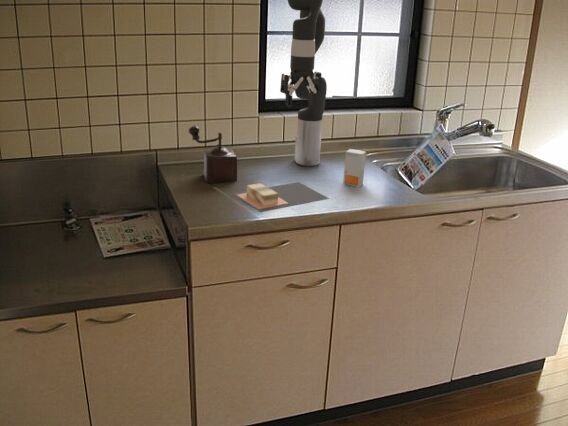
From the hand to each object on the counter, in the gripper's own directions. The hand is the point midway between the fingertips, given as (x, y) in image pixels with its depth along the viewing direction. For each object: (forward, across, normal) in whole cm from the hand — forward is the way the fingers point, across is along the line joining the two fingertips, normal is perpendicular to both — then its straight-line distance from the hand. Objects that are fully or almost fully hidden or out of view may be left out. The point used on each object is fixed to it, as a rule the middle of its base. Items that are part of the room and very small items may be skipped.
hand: (300, 105), depth 195 cm
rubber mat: (+28, -10, -6) cm, 30 cm away
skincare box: (+28, +20, -6) cm, 35 cm away
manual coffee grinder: (+28, -21, +21) cm, 41 cm away
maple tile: (+27, -17, -6) cm, 33 cm away
